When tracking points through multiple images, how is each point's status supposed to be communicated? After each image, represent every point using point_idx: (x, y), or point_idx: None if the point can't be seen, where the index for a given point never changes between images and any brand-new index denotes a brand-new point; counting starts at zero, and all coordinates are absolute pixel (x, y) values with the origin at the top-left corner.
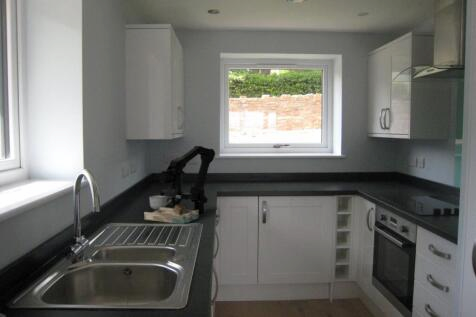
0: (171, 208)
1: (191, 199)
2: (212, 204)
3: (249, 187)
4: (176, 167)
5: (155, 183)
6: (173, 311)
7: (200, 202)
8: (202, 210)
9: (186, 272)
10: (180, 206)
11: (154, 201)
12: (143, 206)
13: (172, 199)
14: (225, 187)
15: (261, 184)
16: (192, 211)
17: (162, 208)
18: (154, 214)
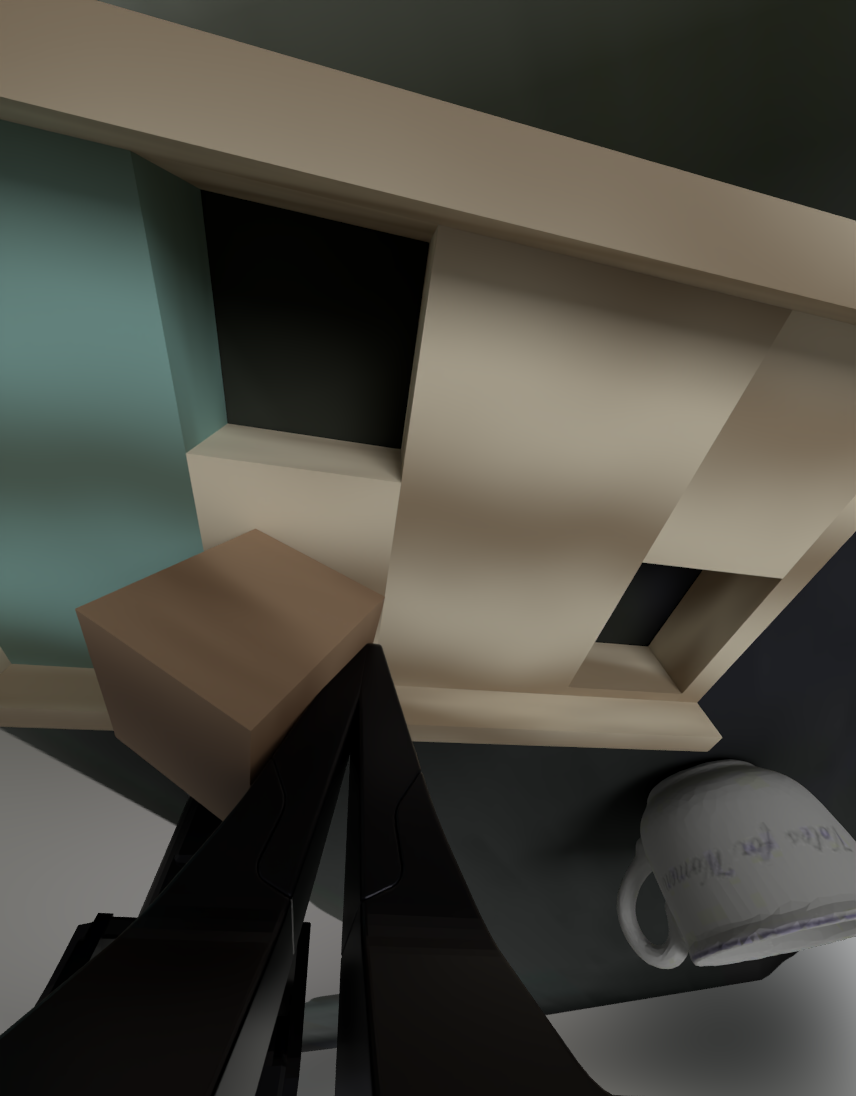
0: (514, 731)
1: (297, 971)
2: (317, 905)
3: (337, 1019)
4: None
5: (746, 981)
6: None
7: (113, 933)
8: (186, 804)
9: None
10: (159, 720)
11: (817, 854)
12: (836, 795)
13: (370, 1035)
14: None
15: (318, 1032)
16: (69, 695)
17: (664, 723)
18: (831, 229)
